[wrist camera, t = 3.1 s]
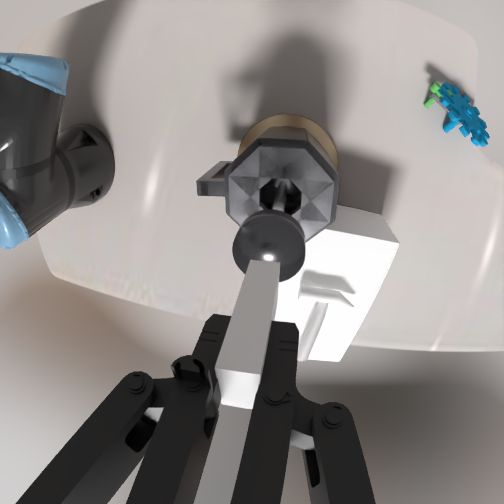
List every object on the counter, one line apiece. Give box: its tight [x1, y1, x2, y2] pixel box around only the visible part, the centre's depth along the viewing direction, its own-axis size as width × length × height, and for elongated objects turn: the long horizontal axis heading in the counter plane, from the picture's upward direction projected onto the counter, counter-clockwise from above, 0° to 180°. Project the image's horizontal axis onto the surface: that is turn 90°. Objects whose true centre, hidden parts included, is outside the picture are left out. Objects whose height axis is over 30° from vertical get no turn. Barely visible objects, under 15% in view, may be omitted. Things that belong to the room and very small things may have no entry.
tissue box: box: [275, 205, 400, 362], centre depth 41 cm, size 14×25×11 cm, turn 173°
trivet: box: [238, 114, 338, 172], centre depth 37 cm, size 14×14×1 cm
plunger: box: [232, 178, 306, 282], centre depth 22 cm, size 8×8×14 cm
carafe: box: [196, 126, 340, 243], centre depth 31 cm, size 14×11×14 cm
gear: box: [424, 82, 489, 146], centre depth 26 cm, size 11×6×10 cm
